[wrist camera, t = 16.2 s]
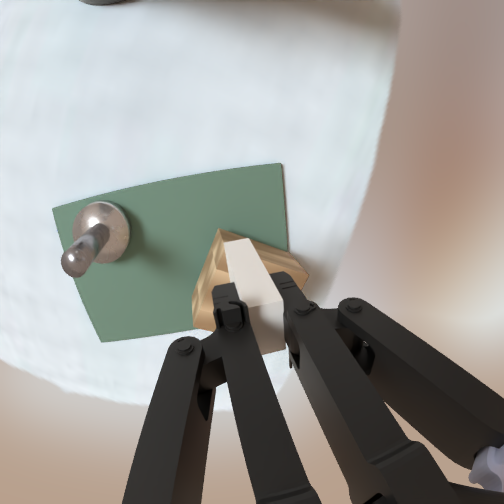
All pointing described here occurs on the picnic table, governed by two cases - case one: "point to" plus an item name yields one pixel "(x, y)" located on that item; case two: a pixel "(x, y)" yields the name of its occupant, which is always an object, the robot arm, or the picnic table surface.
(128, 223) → the stand
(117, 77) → the picnic table surface
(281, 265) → the square wooden frame
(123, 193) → the mat
